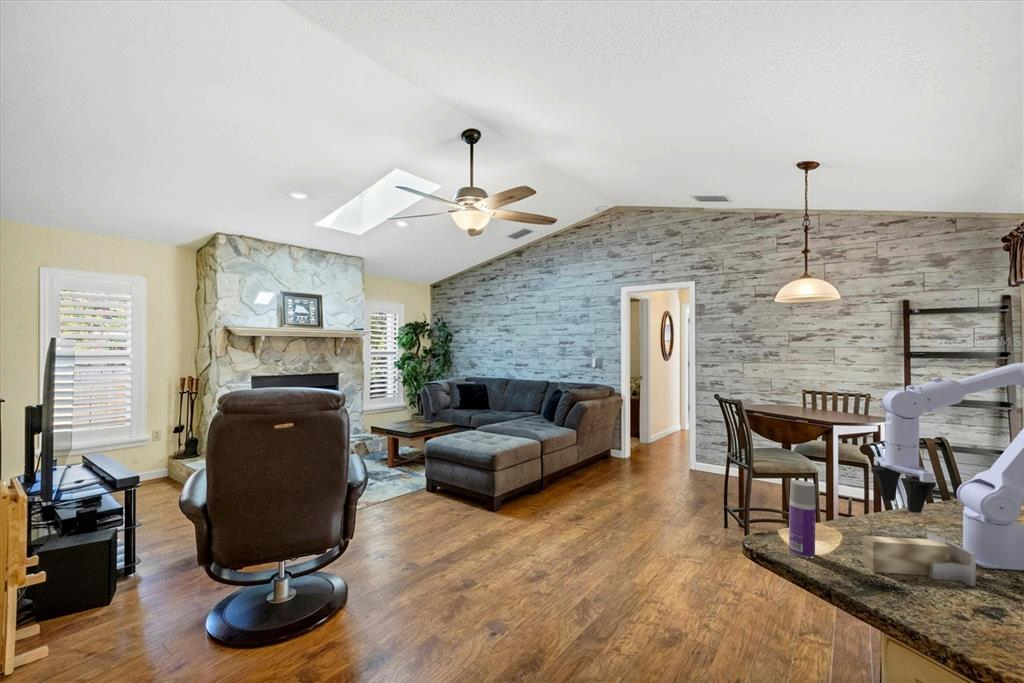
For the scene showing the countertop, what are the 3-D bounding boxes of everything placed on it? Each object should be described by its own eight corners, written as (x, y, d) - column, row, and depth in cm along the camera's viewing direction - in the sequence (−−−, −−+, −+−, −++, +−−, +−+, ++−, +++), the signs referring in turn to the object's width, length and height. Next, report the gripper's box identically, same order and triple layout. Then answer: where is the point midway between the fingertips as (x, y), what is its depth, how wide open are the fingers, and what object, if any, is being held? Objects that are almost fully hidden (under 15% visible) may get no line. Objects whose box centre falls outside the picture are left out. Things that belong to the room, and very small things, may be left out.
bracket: (933, 561, 95) (933, 532, 95) (978, 586, 85) (978, 554, 85) (901, 559, 95) (901, 530, 95) (941, 584, 85) (942, 551, 85)
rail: (936, 570, 91) (936, 540, 91) (949, 577, 88) (949, 546, 88) (862, 565, 92) (862, 535, 93) (872, 572, 90) (873, 541, 90)
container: (819, 559, 94) (820, 487, 94) (794, 557, 95) (795, 485, 95) (809, 550, 99) (810, 480, 99) (785, 547, 100) (786, 479, 100)
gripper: (860, 437, 109) (860, 494, 108) (908, 450, 94) (907, 516, 94) (892, 438, 108) (891, 496, 108) (944, 452, 94) (944, 518, 93)
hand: (901, 505), depth 101 cm, fingers open, 7 cm apart
